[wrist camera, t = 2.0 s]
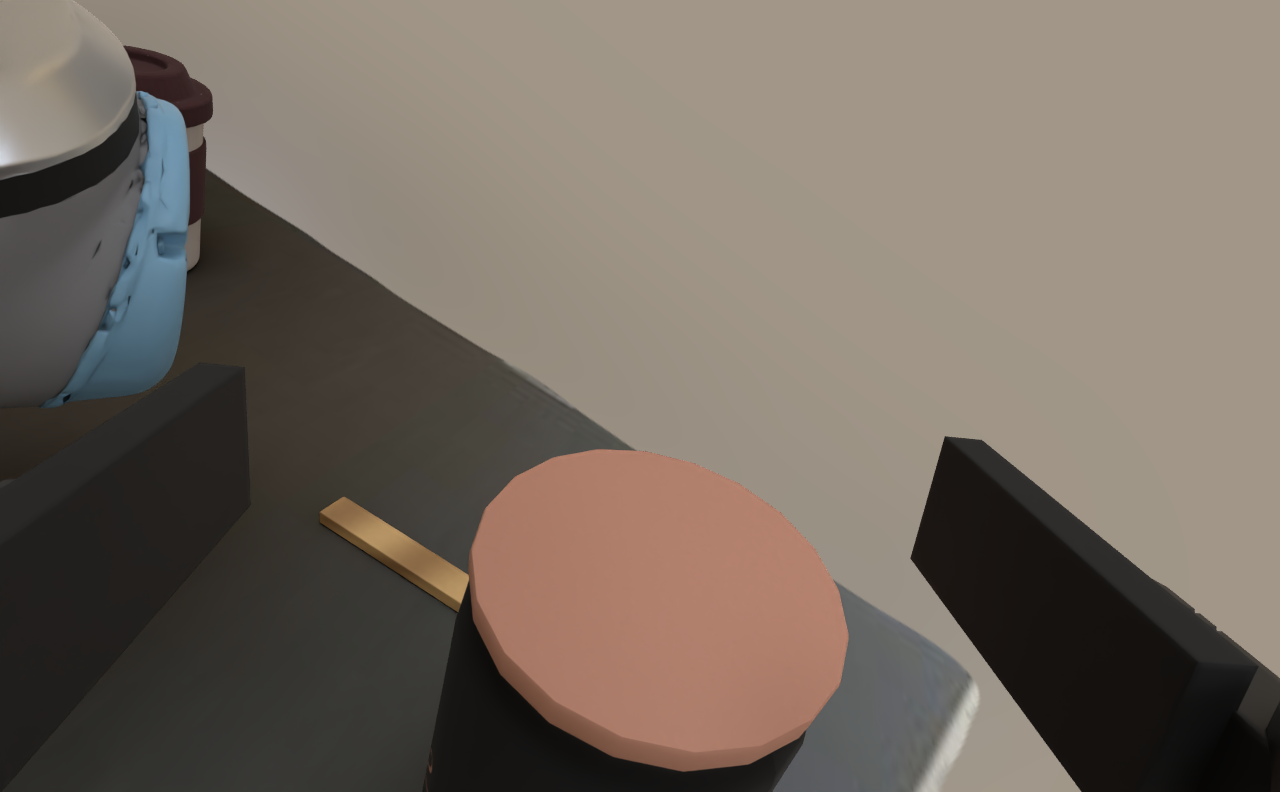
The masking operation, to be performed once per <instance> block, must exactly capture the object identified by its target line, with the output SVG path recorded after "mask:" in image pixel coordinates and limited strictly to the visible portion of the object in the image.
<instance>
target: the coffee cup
mask: <svg viewBox="0 0 1280 792" xmlns="http://www.w3.org/2000/svg"><path fill="white" fill-rule="evenodd" d="M123 47H124V49H125V50H126V52H127V54H128V57H129V59H130V61H131V63H132V66H133V69H134V75H135V81H136V91H142V92H145V93H148V94H150V95H152V96H154V97H155V98H157V99H161V100H165V101H167V102H169V103H171V104H173V105H174V106H175V107H177V108H178V109H179V111H180V112H181V114H182V116H183V119H184V122H185V126H186V133H187V139H188V150H189V169H190V215H189V222H188V237H187V242H186V244H185V246H184V247H185V250H186V254H187V271H188V270H190V269H191V268H192V267H194V266H195V265H196V263H197V262H198V260H199V256H200V223H201V217H202V216H203V213H204V199H205V170H206V140H205V138H204V136H203V123H206V122H207V121H208V120H210V119H211V117H212V114H213V103H212V94H211V92H210V90H209V89H208V88H207V87H206V86H205V85H203V84H202V83H200V82H198V81H197V80H195V79H192V78H190V77H189V74H188V72H187V70H186V68H185V67H184V65H183V64H182V63H180V62H179V61H177V60H176V59H174V58H172V57H169V56H167V55H164V54H161V53H158V52H155V51H150V50H146V49H141V48H136V47H131V46H123Z"/></svg>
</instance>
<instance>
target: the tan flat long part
mask: <svg viewBox="0 0 1280 792" xmlns="http://www.w3.org/2000/svg"><path fill="white" fill-rule="evenodd" d="M319 522H320V523H322V524H323V525H325V526H326V527H328V528H329V529H331V530H332V531H334V532H335V533H337V534H339V535H340V536H342V537H343V538H345V539H346V540H348V541H349V542H351V543H352V544H354V545H355V546H357V547H358V548H360V549H362V550H363V551H365V552H366V553H368V554H369V555H371V556H372V557H374V558H375V559H377V560H378V561H380V562H381V563H383V564H385V565H386V566H388V567H389V568H391V569H392V570H394V571H395V572H397V573H398V574H400V575H401V576H403V577H405V578H406V579H408V580H409V581H411V582H412V583H414V584H415V585H417V586H418V587H420V588H421V589H423V590H424V591H426V592H428V593H429V594H431V595H432V596H434V597H435V598H437V599H438V600H440V601H441V602H443V603H444V604H446V605H447V606H449V607H451V608H452V609H454V610H455V611H457V612H458V611H459V608H460V605H461V602H462V599H463V596H464V593H465V590H466V587H467V584H468V581H469V575H468V574H466V573H464V572H463V571H461V570H460V569H458V568H457V567H455V566H453V565H452V564H450V563H449V562H447V561H445V560H444V559H442V558H441V557H439V556H438V555H436V554H434V553H433V552H431V551H430V550H428V549H427V548H425V547H423V546H422V545H420V544H419V543H417V542H415V541H414V540H412V539H411V538H409V537H408V536H406V535H404V534H403V533H401V532H400V531H398V530H396V529H395V528H393V527H392V526H390V525H389V524H387V523H385V522H384V521H382V520H381V519H379V518H378V517H376V516H374V515H373V514H371V513H370V512H368V511H366V510H365V509H363V508H362V507H360V506H359V505H357V504H355V503H354V502H352V501H351V500H349V499H347V498H346V497H342V498H341V499H339V500H337V501H336V502H334V503H333V504H331V505H330V506H328V507H327V508H325V509H324V510H322V511H320V517H319Z"/></svg>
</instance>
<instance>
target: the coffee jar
mask: <svg viewBox="0 0 1280 792" xmlns="http://www.w3.org/2000/svg"><path fill="white" fill-rule="evenodd" d="M468 571H469V581H468V584H467V587H466V590H465V593H464V596H463V599H462V602H461V605H460V608H459V611H458V614H457V617H456V622H455V627H454V632H453V637H452V642H451V648H450V653H449V658H448V663H447V668H446V673H445V678H444V684H443V689H442V694H441V699H440V704H439V709H438V714H437V720H436V725H435V730H434V735H433V740H432V745H431V750H430V756H429V761H428V766H427V771H426V776H425V781H424V786H423V792H772V791H773V789H774V788H775V786H776V785H777V783H778V781H779V780H780V778H781V777H782V775H783V774H784V772H785V771H786V769H787V768H788V766H789V764H790V763H791V761H792V760H793V758H794V757H795V755H796V754H797V752H798V750H799V749H800V747H801V746H802V744H803V741H804V737H805V733H806V729H807V728H808V726H809V725H810V724H811V723H812V721H813V720H814V719H815V717H816V716H817V715H818V713H819V712H820V711H821V709H822V708H823V707H824V705H825V704H826V703H827V701H828V700H829V699H830V697H831V696H832V695H833V693H834V692H835V691H836V689H837V688H838V687H839V685H840V682H841V677H842V671H843V666H844V660H845V655H846V650H847V644H848V638H849V635H848V631H847V626H846V621H845V617H844V612H843V607H842V603H841V598H840V593H839V590H838V588H837V587H836V585H835V583H834V581H833V579H832V578H831V576H830V574H829V572H828V571H827V569H826V567H825V565H824V564H823V562H822V560H821V558H820V557H819V555H818V553H817V551H816V550H815V548H814V547H813V546H812V545H811V544H810V543H809V542H808V541H807V540H806V539H805V538H804V537H803V536H802V535H801V534H800V532H798V530H797V529H796V528H795V527H794V526H793V525H792V524H791V523H790V522H789V521H788V520H787V519H786V518H785V517H784V516H783V515H782V513H781V512H779V511H777V510H776V509H775V508H773V507H772V506H770V505H769V504H768V503H766V502H765V501H763V500H762V499H760V498H759V497H758V496H756V495H755V494H753V493H752V492H750V491H749V490H748V489H746V488H745V487H743V486H742V485H740V484H739V483H736V482H734V481H732V480H730V479H728V478H725V477H723V476H721V475H719V474H717V473H714V472H712V471H710V470H708V469H705V468H703V467H701V466H699V465H696V464H695V463H691V462H687V461H683V460H679V459H675V458H671V457H667V456H663V455H659V454H655V453H651V452H646V451H626V450H604V449H597V450H592V451H586V452H581V453H575V454H570V455H565V456H559V457H554V458H552V459H550V460H548V461H546V462H544V463H542V464H540V465H538V466H536V467H534V468H532V469H530V470H528V471H526V472H524V473H522V474H520V475H518V476H516V477H514V479H513V480H512V481H511V482H510V483H509V484H508V485H507V486H506V487H505V488H504V489H503V490H502V491H501V492H500V493H499V494H498V496H497V497H496V498H495V499H494V500H493V501H492V502H491V503H490V504H489V505H488V506H487V507H486V509H485V510H484V512H483V515H482V518H481V521H480V524H479V527H478V530H477V533H476V535H475V538H474V541H473V544H472V547H471V550H470V555H469V569H468Z"/></svg>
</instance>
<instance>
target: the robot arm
mask: <svg viewBox="0 0 1280 792" xmlns="http://www.w3.org/2000/svg"><path fill="white" fill-rule="evenodd" d="M189 215H190V169H189V150H188V139H187V133H186V126H185V122H184V119H183V116H182V114H181V112H180V111H179V109H178V108H177V107H175V106H174V105H173V104H171V103H169V102H167V101H165V100H161V99H157V98H155V97H154V96H152V95H150V94H148V93H145V92H142V91H136V81H135V75H134V69H133V66H132V63H131V61H130V59H129V57H128V54H127V52H126V50H125V49H124V47H123V45H122V43H121V42H120V41H119V39H117V37H116V36H115V35H114V34H113V33H112V32H111V31H110V29H109V28H108V27H107V26H106V25H104V24H103V23H102V22H101V21H100V20H99V19H97V18H96V17H95V16H94V15H93V14H91V13H90V12H89V11H87V10H86V9H84V8H83V7H82V6H80V5H79V4H78V3H76V2H75V1H73V0H0V408H14V407H41V408H54V407H58V406H60V405H63V404H65V403H67V402H70V401H80V400H90V399H100V398H109V397H119V396H128V395H133V394H137V393H141V392H144V391H146V390H148V389H150V388H152V387H153V386H155V385H156V384H157V383H158V382H159V381H160V380H161V379H162V378H163V377H164V376H165V375H166V374H167V372H168V371H169V369H170V367H171V365H172V363H173V361H174V357H175V354H176V351H177V347H178V342H179V337H180V331H181V325H182V317H183V309H184V300H185V290H186V275H187V254H186V250H185V247H184V246H185V244H186V242H187V237H188V222H189ZM250 505H251V503H250V480H249V457H248V434H247V411H246V388H245V367H237V366H227V365H217V364H207V363H198V364H197V365H195V366H193V367H192V368H190V369H189V370H187V371H186V372H184V373H182V374H181V375H179V376H178V377H176V378H174V379H173V380H171V381H170V382H168V383H167V384H165V385H163V386H162V387H160V388H159V389H157V390H155V391H154V392H152V393H151V394H149V395H148V396H146V397H144V398H143V399H141V400H140V401H138V402H137V403H135V404H133V405H132V406H130V407H129V408H127V409H125V410H124V411H122V412H121V413H119V414H118V415H116V416H114V417H113V418H111V419H110V420H108V421H106V422H105V423H103V424H102V425H100V426H99V427H97V428H95V429H94V430H92V431H91V432H89V433H88V434H86V435H84V436H83V437H81V438H80V439H78V440H76V441H75V442H73V443H72V444H70V445H69V446H67V447H65V448H64V449H62V450H61V451H59V452H57V453H56V454H54V455H53V456H51V457H50V458H48V459H46V460H45V461H43V462H42V463H40V464H39V465H37V466H35V467H34V468H32V469H31V470H29V471H27V472H26V473H24V474H23V475H21V476H20V477H18V478H16V479H5V480H2V481H0V792H2V791H3V790H4V789H5V787H6V786H7V785H8V784H9V783H10V782H11V780H12V779H13V778H14V777H15V776H16V775H17V774H18V772H19V771H20V770H21V769H22V768H23V767H24V765H25V764H26V763H27V762H28V761H29V760H30V759H31V757H32V756H33V755H34V754H35V753H36V752H37V751H38V749H39V748H40V747H41V746H42V745H43V744H44V742H45V741H46V740H47V739H48V738H49V737H50V736H51V734H52V733H53V732H54V731H55V730H56V729H57V727H58V726H59V725H60V724H61V723H62V722H63V721H64V719H65V718H66V717H67V716H68V715H69V714H70V712H71V711H72V710H73V709H74V708H75V707H76V706H77V704H78V703H79V702H80V701H81V700H82V699H83V698H84V696H85V695H86V694H87V693H88V692H89V691H90V689H91V688H92V687H93V686H94V685H95V684H96V683H97V681H98V680H99V679H100V678H101V677H102V676H103V674H104V673H105V672H106V671H107V670H108V669H109V668H110V666H111V665H112V664H113V663H114V662H115V661H116V660H117V658H118V657H119V656H120V655H121V654H122V653H123V651H124V650H125V649H126V648H127V647H128V646H129V645H130V643H131V642H132V641H133V640H134V639H135V638H136V636H137V635H138V634H139V633H140V632H141V631H142V630H143V628H144V627H145V626H146V625H147V624H148V623H149V621H150V620H151V619H152V618H153V617H154V616H155V615H156V613H157V612H158V611H159V610H160V609H161V608H162V607H163V605H164V604H165V603H166V602H167V601H168V600H169V598H170V597H171V596H172V595H173V594H174V593H175V592H176V590H177V589H178V588H179V587H180V586H181V585H182V583H183V582H184V581H185V580H186V579H187V578H188V577H189V575H190V574H191V573H192V572H193V571H194V570H195V568H196V567H197V566H198V565H199V564H200V563H201V562H202V560H203V559H204V558H205V557H206V556H207V555H208V554H209V552H210V551H211V550H212V549H213V548H214V547H215V545H216V544H217V543H218V542H219V541H220V540H221V539H222V537H223V536H224V535H225V534H226V533H227V532H228V530H229V529H230V528H231V527H232V526H233V525H234V524H235V522H236V521H237V520H238V519H239V518H240V517H241V516H242V514H243V513H244V512H245V511H246V510H247V509H248V507H249V506H250ZM911 560H912V561H913V562H914V564H915V565H916V567H917V568H918V569H919V571H920V572H921V573H922V575H923V576H924V577H925V579H926V580H927V582H928V583H929V584H930V586H931V587H932V588H933V590H934V591H935V593H936V594H937V595H938V597H939V598H940V599H941V601H942V602H943V603H944V605H945V606H946V607H947V609H948V610H949V611H950V613H951V614H952V616H953V617H954V618H955V620H956V621H957V623H958V624H959V625H960V627H961V628H962V629H963V631H964V632H965V633H966V635H967V636H968V637H969V639H970V640H971V641H972V643H973V644H974V646H975V647H976V648H977V650H978V651H979V653H980V654H981V655H982V657H983V658H984V659H985V661H986V662H987V663H988V665H989V666H990V668H991V669H992V670H993V672H994V673H995V674H996V676H997V677H998V678H999V680H1000V681H1001V683H1002V684H1003V685H1004V687H1005V688H1006V689H1007V691H1008V692H1009V693H1010V695H1011V696H1012V698H1013V699H1014V700H1015V702H1016V703H1017V704H1018V706H1019V707H1020V708H1021V710H1022V711H1023V712H1024V714H1025V715H1026V717H1027V718H1028V719H1029V721H1030V722H1031V723H1032V725H1033V726H1034V727H1035V729H1036V730H1037V731H1038V733H1039V734H1040V736H1041V737H1042V738H1043V740H1044V741H1045V742H1046V744H1047V745H1048V747H1049V748H1050V749H1051V751H1052V752H1053V753H1054V755H1055V756H1056V758H1057V759H1058V760H1059V762H1060V763H1061V764H1062V766H1063V767H1064V768H1065V770H1066V771H1067V773H1068V774H1069V775H1070V777H1071V778H1072V779H1073V781H1074V782H1075V783H1076V785H1077V786H1078V787H1079V789H1080V790H1081V792H1280V678H1279V677H1277V676H1276V675H1275V674H1274V673H1272V672H1271V671H1270V670H1269V669H1268V668H1267V667H1265V666H1264V665H1263V664H1261V663H1260V662H1259V661H1258V660H1257V659H1255V658H1254V657H1253V656H1252V655H1250V654H1249V653H1248V652H1247V651H1246V650H1244V649H1243V648H1242V647H1241V646H1239V645H1238V644H1237V643H1235V642H1234V641H1233V640H1232V639H1231V638H1229V637H1228V636H1227V635H1226V634H1224V633H1223V632H1220V631H1217V630H1216V626H1215V625H1213V624H1212V623H1211V622H1210V621H1208V620H1207V619H1206V618H1204V616H1202V615H1201V614H1198V613H1195V611H1194V610H1195V609H1194V608H1192V607H1191V606H1190V605H1189V604H1187V603H1186V602H1185V601H1184V600H1182V599H1181V598H1180V597H1179V596H1178V595H1176V594H1175V593H1174V592H1173V591H1171V590H1170V589H1169V588H1167V587H1166V586H1164V585H1162V584H1160V583H1159V582H1157V581H1155V580H1153V579H1151V578H1150V577H1149V576H1148V575H1146V574H1145V573H1144V572H1143V571H1142V570H1140V569H1139V568H1138V567H1137V566H1135V565H1134V564H1133V563H1132V562H1131V561H1129V560H1128V559H1127V558H1126V557H1124V556H1123V555H1122V554H1121V553H1120V552H1118V551H1117V550H1116V549H1115V548H1113V547H1112V546H1111V545H1110V544H1108V543H1107V542H1106V541H1105V540H1103V539H1102V538H1101V537H1100V536H1099V535H1097V534H1096V533H1095V532H1094V531H1093V530H1091V529H1090V528H1089V527H1088V526H1087V525H1085V524H1084V523H1083V522H1082V521H1080V520H1079V519H1078V518H1077V517H1075V516H1074V515H1073V514H1072V513H1071V512H1069V511H1068V510H1067V509H1066V508H1064V507H1063V506H1062V505H1061V504H1059V503H1058V502H1057V501H1056V500H1055V499H1053V498H1052V497H1051V496H1050V495H1049V494H1047V493H1046V492H1045V491H1044V490H1042V489H1041V488H1040V487H1039V486H1038V485H1036V484H1035V483H1034V482H1033V481H1031V480H1030V479H1029V478H1028V477H1027V476H1025V475H1024V474H1023V473H1022V472H1020V471H1019V470H1018V469H1017V468H1016V467H1014V466H1013V465H1012V464H1010V463H1009V462H1008V461H1007V460H1006V459H1004V458H1003V457H1002V456H1001V455H1000V454H998V453H997V452H996V451H995V450H993V449H992V448H991V447H990V446H988V445H987V444H986V443H985V442H984V441H982V440H975V439H966V438H956V437H946V436H945V438H944V442H943V445H942V449H941V452H940V456H939V460H938V463H937V466H936V470H935V473H934V477H933V481H932V484H931V488H930V491H929V495H928V498H927V502H926V505H925V509H924V512H923V516H922V519H921V523H920V527H919V530H918V534H917V537H916V541H915V544H914V548H913V551H912V555H911Z"/></svg>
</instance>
